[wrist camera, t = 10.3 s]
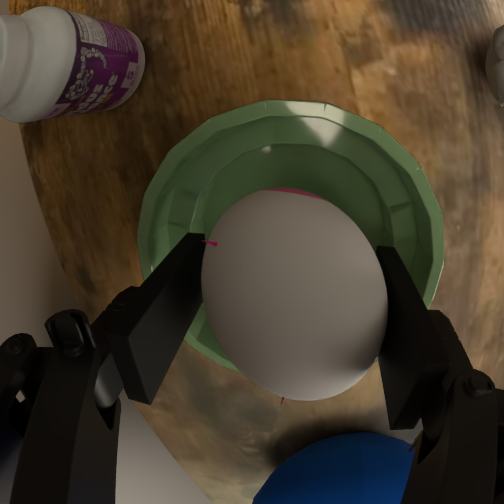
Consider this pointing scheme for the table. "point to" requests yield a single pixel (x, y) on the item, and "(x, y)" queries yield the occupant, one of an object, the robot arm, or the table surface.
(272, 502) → the vase
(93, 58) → the pill bottle
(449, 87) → the table surface
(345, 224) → the stress ball
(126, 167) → the table surface
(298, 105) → the green bowl
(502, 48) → the frog figurine
